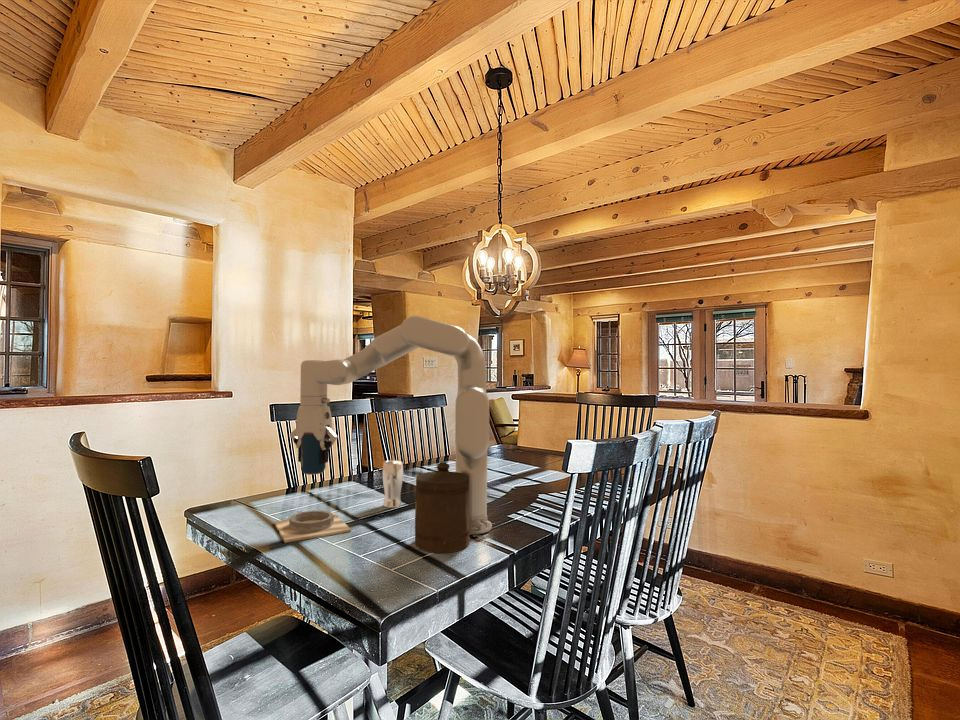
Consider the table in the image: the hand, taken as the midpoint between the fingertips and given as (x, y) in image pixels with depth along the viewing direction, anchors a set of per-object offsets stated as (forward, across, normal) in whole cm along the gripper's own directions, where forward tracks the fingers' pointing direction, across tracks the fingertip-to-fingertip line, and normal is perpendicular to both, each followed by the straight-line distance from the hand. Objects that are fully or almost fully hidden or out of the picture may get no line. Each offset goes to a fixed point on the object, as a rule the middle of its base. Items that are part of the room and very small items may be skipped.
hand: (313, 461), depth 146 cm
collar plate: (+20, 0, 0) cm, 20 cm away
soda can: (+3, 0, 0) cm, 3 cm away
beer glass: (+20, -11, -29) cm, 36 cm away
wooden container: (+20, -41, -2) cm, 45 cm away
